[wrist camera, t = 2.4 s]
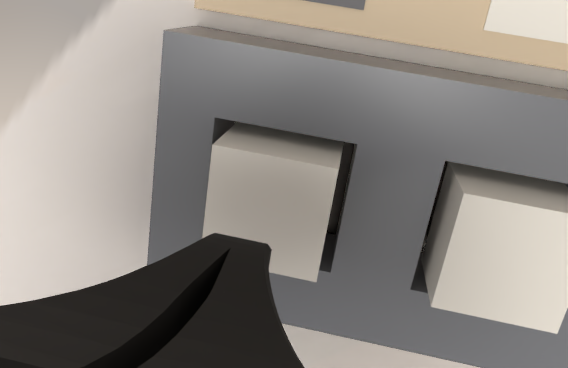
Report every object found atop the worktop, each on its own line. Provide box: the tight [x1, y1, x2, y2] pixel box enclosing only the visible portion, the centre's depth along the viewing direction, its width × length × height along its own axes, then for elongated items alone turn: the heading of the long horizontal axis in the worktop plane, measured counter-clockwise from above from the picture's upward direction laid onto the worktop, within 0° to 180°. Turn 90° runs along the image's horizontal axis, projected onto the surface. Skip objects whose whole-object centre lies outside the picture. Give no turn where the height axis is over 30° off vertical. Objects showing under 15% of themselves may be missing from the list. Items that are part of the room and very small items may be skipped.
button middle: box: [421, 162, 568, 334], centre depth 16 cm, size 4×4×3 cm
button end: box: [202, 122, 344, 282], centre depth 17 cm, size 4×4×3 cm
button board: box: [147, 26, 568, 368], centre depth 17 cm, size 9×22×3 cm, turn 82°
